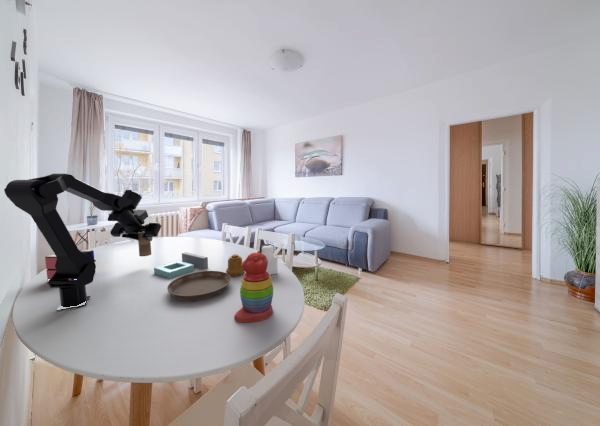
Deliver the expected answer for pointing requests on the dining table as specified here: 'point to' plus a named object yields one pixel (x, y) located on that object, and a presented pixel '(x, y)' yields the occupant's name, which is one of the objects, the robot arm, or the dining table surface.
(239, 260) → the ornamental finial
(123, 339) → the dining table surface
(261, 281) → the stacking bear
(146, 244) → the walnut dowel
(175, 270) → the socket block
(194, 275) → the plant saucer
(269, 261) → the medicine bottle
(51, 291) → the dining table surface
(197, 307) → the dining table surface
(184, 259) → the charcoal wall
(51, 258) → the puzzle cube
